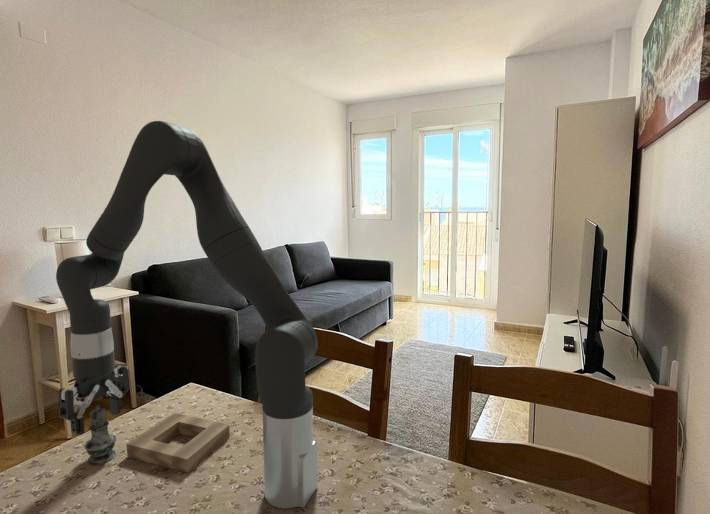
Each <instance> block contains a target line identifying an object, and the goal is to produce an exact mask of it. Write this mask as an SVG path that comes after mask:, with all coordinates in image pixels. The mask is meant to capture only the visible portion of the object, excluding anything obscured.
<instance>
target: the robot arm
mask: <svg viewBox="0 0 710 514" xmlns="http://www.w3.org/2000/svg"><path fill="white" fill-rule="evenodd" d="M210 155H211V154H210V153H209V151H208V149H207V147H206V145H205V143H204V141H203V140H202V139H201V137H200V136H199V135H198V134H197V133H196V132H195V131H194V130H192V129H190V128H188V127H185V126H182V125H178V124H174V123H171V122H168V121H163V120H153V121H150V122H148V123H146V124H145V125H144V126H143V127H142V128H141V129H140V131H139V132H138V134H137V135H136V138H135V139H134V141H133V143H132V145H131V149H130V151H129V153H128V156H127V159H126V161H125V164H124V167H123V168H122V171H121V173H120V176H119V178H118V181H117V183H116V185H115V188H114V190H113V193H112V195H111V197H110V199H109V201H108V203H107V204H106V206H105V209H104V210H103V212H102V213H101V214H100V217H98V219H97V220H96V222H95V224H94V225H93V226H92V228H91V230H90V231H89V233H88V234H87V235H88V236H87V237H86V242H85V244H86V246H87V248H88V250H89V251H90V252H91V253H90V254H84V255H83V254H82V255H78V256H71V257H70V256H69V257H67V258H64V259H63V260H62V261H61V262H60V263H59V264H58V267H57V269H56V273H55V281H56V283H57V286H58V289H59V292H60V293H61V295H62V298H63V301H64V303H65V306H66V308H67V311H68V313H69V324H70V325H69V326H70V343H69V344H70V345H69V346H70V356H71V368H72V369H71V370H72V376H73V377H74V384H73V386H70V387H68V388H60V389H58V418H60V419H63V420H66V421H67V420H68V421H69V422H70V431H71V433H72V434H74V435H76V436H82V435H84V434H85V421H84V414H85V411H86V409H87V408H89V407H90V405H91V404H92V401H96V400H97V399H98V398H99V397H103V396H105V395H107V394H108V395H109V396H110V397H109V398H108V399H109V411H110V414H111V415H113V416H118V415H120V414H121V411H122V397H123V394H125V393H126V392H129V390H130V383H129V377H128V375H129V374H128V367H127V366H124V365H117V364H116V361H115V360H116V358H115V342H114V336H113V330H112V324H111V323H112V322H111V320H112V319H111V309H110V304H109V302H108V301H106V300H104V299H99V298H98V299H97V298H94V297H93V295H92V292H91V290H95V289H99V288H103V287H106V286H107V285H109V284H110V283H112V282H113V281H114V280H115V279H116V277H117V276H118V275H119V272H120V268H121V265H122V262H123V260H124V255H125V252H126V251H127V249H129V247H130V245H131V244H132V242H133V241H134V239H135V238H136V236H137V235H138V233H139V232H140V230H141V228H142V225H143V221H144V217H145V205H146V200H147V198H148V195H149V193H150V191H151V190H152V188H153V187H154V185H155V184H157V182H158V181H159V180H160V179H161V178H162V177H163V176H164V175H166V176H168V175H169V176H174V177H176V178H177V179H178V181H179V182H180V183H181V185H182V186H183V188H184V190H185V191H186V193H187V195H188V196H189V198H190V200H191V202H192V205H193V208H194V212H195V213H194V214H195V221H196V223H195V224H196V231H197V238H198V241H199V244H200V246H201V248H202V251H203V252H204V254H205V255H206V257H207V259H208V260H209V262H210V264H211V265H212V267H213V269H214V270H215V272H216V274H217V275H218V276H219V277H220V278H221V279H222V280H223V281H224V282H225V283H226V284H227V285H228V286H230V287H231V288H232V289H233V290H235V291H236V292H237V293H238V294H239V295H240V296H242V297H243V298H245V299H246V300H247V301H248V302H249V303H250V304H251V305H252V306H253V307H254V308H255V311H257V313H258V314H259V316H260V318H261V319H262V321H263V323H264V324H265V326H266V328H267V329H266V330H265V331H264V332H263V333H262V334H261V335H260V336H259V338H258V339H257V342H256V346H255V354H254V355H255V375H256V387H257V394H258V396H259V397H258V398H259V399H260V401H261V404H262V405H261V406H262V407H261V408H262V412H261V413H262V445H263V446H262V448H263V449H262V450H263V453H262V454H263V479H264V480H263V481H264V482H263V486H264V487H263V488H264V490H263V491H264V498H265V501H266V502H267V503H268V504H269V505H271V506H272V507H275V508H278V509H292V508H293V509H294V508H296V507H299V508H302V509H303V508H305V507H306V505H307V503H308V502H309V500H310V499H311V498H312V496H313V495H314V493H315V491H316V490H317V488H318V442H317V441H316V440H314V427H313V426H314V424H313V423H314V421H313V419H314V416H313V415H314V411H313V410H314V409H313V408H314V395H313V391H312V389H311V388H310V387H309V386H308V385H307V384H306V365H307V364H308V363H309V362H310V361H311V359H312V358H313V357H314V356H315V355H316V352H317V351H318V336H317V334H316V331H315V328H314V326H313V325H312V324H311V322H310V321H309V319H308V318H307V317H306V315H305V314H304V313H303V311H302V310H301V309H300V307H299V306H298V304H297V303H296V302H295V301H294V299H293V298H292V297H291V295H290V294H289V292H288V291H287V289H286V288H285V286H284V284H283V283H282V281H281V279H280V278H279V276H278V274H277V272H276V271H275V269H274V267H273V265H272V264H271V262H270V261H269V259H268V257H267V256H266V254H265V252H264V251H263V248H262V247H261V245H260V243H259V242H258V240H257V237H256V236H255V234H254V233H253V230H251V228H250V227H249V225H248V223H247V222H246V220H245V219H244V217H243V215H242V214H241V212H240V210H239V208H238V207H237V205H236V204H235V201H234V200H233V198H232V196H231V194H230V193H229V192H228V190H227V188H226V187H225V184H224V183H223V181H222V179H221V177H220V175H219V173H218V171H217V169H216V166H215V165H214V162H213V160H212V157H211V156H210ZM114 380H115V384H114V383H113V381H114ZM82 399H84V400H83V401H81V400H82Z"/></svg>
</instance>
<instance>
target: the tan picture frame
mask: <svg viewBox="0 0 710 514" xmlns="http://www.w3.org/2000/svg"><path fill="white" fill-rule="evenodd" d="M179 434H180V435H184V436H188V437H192V439H190V440H189V441H188V442H186V443H185V444H184V445H183V446H179V445H174V444H170V443H169V442H170V441H171V440H172V439H174V438H176V437H177V436H178V435H179ZM230 434H231V433H230V424H228V423H222V422H219V421H215V420H211V419H210V420H208V419H206V418H200V417H196V416H191V415H186V414H181V413H178V412H173V413H172V414H170V415H168V417H166V418H164V419H163V420H161V421H159V422H157V423H156V424H155V425H153V426H151V428H148V429H147V430H145V431H144V432H143V433H141V434H140V435H138V436H137V437H134V439H132V440H130V441H129V442H127V443H126V455H127V457H128V458H131V459H135V460H138V461H141V462H145V463H149V464H153V465H157V466H161V467H163V468H167V469H172V470H175V471H180V472H183V473H187V474H188V473H189V472H191V471H192V470H193V469H194V468H196V467H197V466H198V465H199V464H200V463H201V462H202V461H204V459H206V458H207V457H209V455H210V454H212V452H214V451H215V450H216V449H217V448H218V447H220V446H221V445H222V444H223V443H224V442H226V440H228V438H230Z"/></svg>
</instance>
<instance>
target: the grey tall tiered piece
mask: <svg viewBox="0 0 710 514" xmlns="http://www.w3.org/2000/svg"><path fill="white" fill-rule="evenodd" d="M89 415H90V425H89V430H90V431H91V432H90V433H91V436H90V437H91V438H90V439H89V440H88V441H86V442H85V443H84V445H83V447H84V449H85V450H86V452H87V454H88V455H89V456H88V458H87V459H86V461H87V462H86V463H87V464H88V465H90V466H100V465H103V464H106V463H108V462H111V460H113V459H114V458H115V457H116V454H117V452H116V451H115V450H113V449H114V447H115V444H116V441H117V437H116V435H114V434H110V433H109V430H108V426H109V425H110V424H109V421H108V419H107V412H106V409H105V408H104V407H103V408H102V407H100V405H99V404H97V405H96V406H95V408H94V409H93V410H92V411H91V412H90V414H89Z"/></svg>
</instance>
